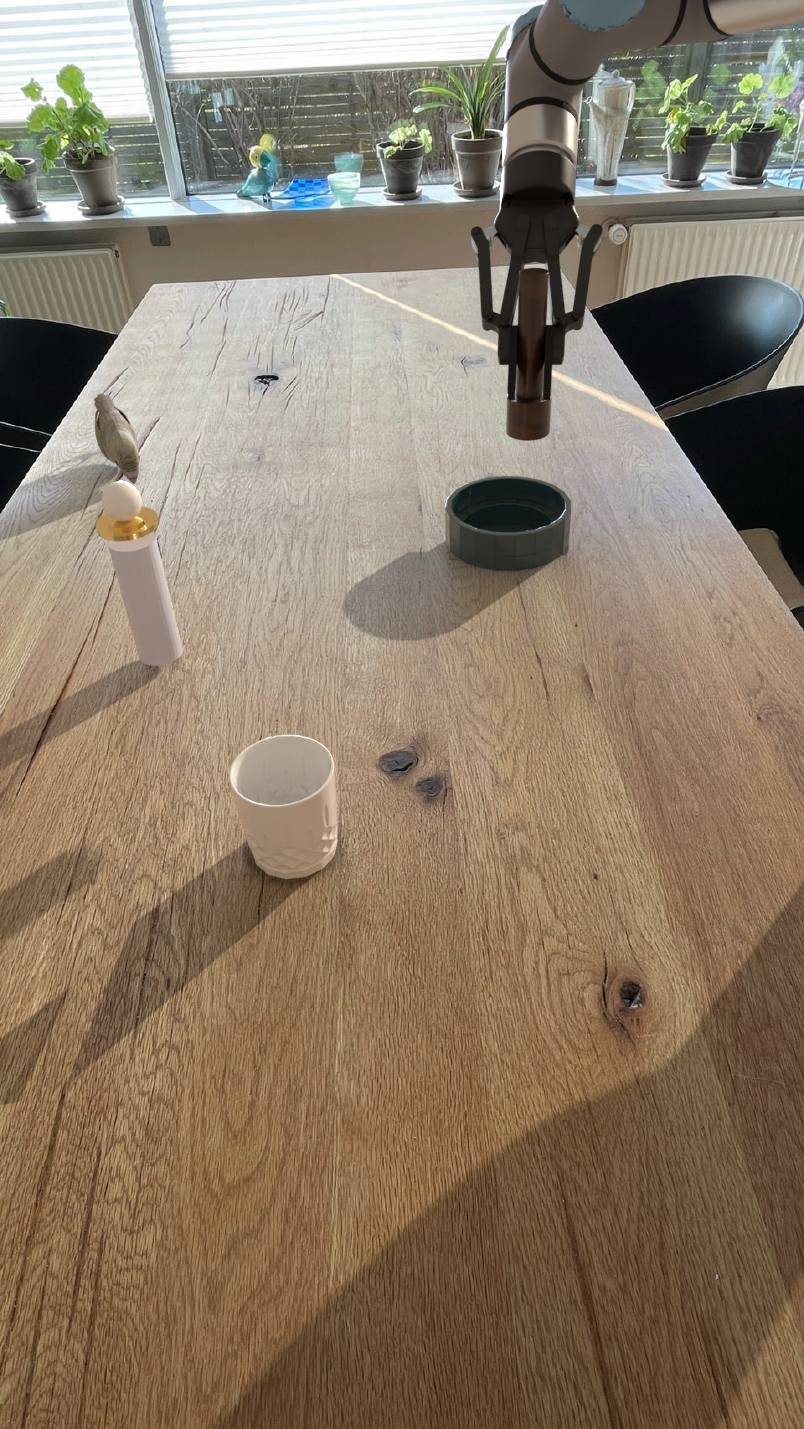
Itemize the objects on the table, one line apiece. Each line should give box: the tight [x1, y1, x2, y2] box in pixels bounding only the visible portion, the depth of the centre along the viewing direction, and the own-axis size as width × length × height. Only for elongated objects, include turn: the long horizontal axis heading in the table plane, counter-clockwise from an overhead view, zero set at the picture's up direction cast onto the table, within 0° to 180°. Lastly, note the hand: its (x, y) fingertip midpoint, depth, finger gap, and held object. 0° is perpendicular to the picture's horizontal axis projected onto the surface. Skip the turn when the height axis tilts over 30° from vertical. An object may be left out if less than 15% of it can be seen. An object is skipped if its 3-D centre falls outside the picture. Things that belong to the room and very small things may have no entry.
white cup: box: [228, 734, 339, 880], centre depth 74 cm, size 8×8×10 cm
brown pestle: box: [505, 267, 553, 442], centre depth 96 cm, size 5×5×16 cm
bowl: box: [444, 475, 572, 572], centre depth 111 cm, size 14×14×6 cm
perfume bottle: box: [95, 480, 184, 667], centre depth 93 cm, size 6×6×20 cm
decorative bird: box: [93, 393, 141, 485], centre depth 135 cm, size 5×16×7 cm, turn 24°
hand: (529, 394), depth 94 cm, fingers closed on brown pestle, 3 cm apart
